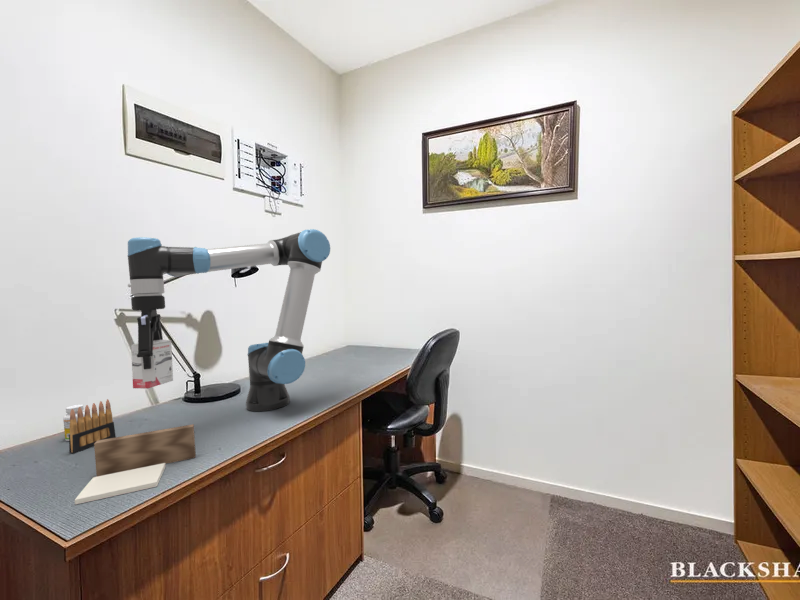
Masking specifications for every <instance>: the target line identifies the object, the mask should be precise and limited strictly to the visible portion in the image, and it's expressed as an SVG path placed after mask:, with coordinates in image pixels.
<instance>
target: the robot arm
mask: <svg viewBox="0 0 800 600" xmlns="http://www.w3.org/2000/svg"><path fill="white" fill-rule="evenodd" d="M330 244H331V243H330V241H329V239H328V237H327V236H326V235H325V234H324V233H323V232H322V231H320V230H318V229H314V228H310V229H304V230H301V232H300V231H299V232H297V233H294V234H293V233H292V234H291V235H288V236H285V237H282V238H278V239H271V240H268V242H267V243H259V244H258V243H257V244H247V245H246V244H245V245H236V246H235V245H234V246H227V247H226V246H225V247H217V248H216V247H215V248H205V247H197V246H194V247H190V246H185V247H184V246H182V247H181V246H165V245H162V243H161V240H160V239H159V238H156V237H153V238H152V237H143V236H140V237H132V238H130V239H129V240H128V241H127V260H128V261H127V262H128V263H127V264H128V272H129V274H128V275H129V283H128V284H127V287H128V288H130V295H132V297H131V298H130V301H131V302H130V303H131V310H132V311H135V312H136V311H140V313H141V314H140V316H137V318H136V320H137V339H138V340H137V343H138V354H137V357H141V364H142V378H143V382H148V381H155V380H156V376H155V362H154V356H152V355H153V341H154V340H164V339H163V337H164V336H163V330H162V322H161V321H162V320H161V318H162V317H161V314H159V313H158V311H157V310H164V309H165V308H166V300H165V299H166V297H165V296H164V295H163V294H165V284H164V283H165V280H164V274H166V275H169V276H171V277H173V278H177V277H183V276H187V275H188V276H189V275H195V274H207V273H210V272H217V271H218V272H219V271H224V270H225V271H226V270H234V269H240V268H241V269H242V268H248V267H255V266H263V265H272V266H273V267H277V266H288V267H289V275H288V277H287V278H288V279H287V284H286V287H285V291H284V297H283V300H282V303H281V304H282V305H281V309H280V313H279V316H278V322H277V327H276V331H275V334H274V336H272V337H270V339H269V340H268V342H263V343H255V344H250V345H249V346H248V347H247V355H246V356H247V358H248V359H247V360H248V376H249V389H248V394H247V395H246V396H247V397H246V401H245V408H246V410H247V411H251V412H267V411H272V410H276V409H279V408H284V407H285V406H288V405H289V404H290V403H291V401H290V394H289V392H288V389H287V387H286V385H289V384H293V383H294V382H296V381H297V380H299V379H300V378H301V376H302V375H303V373H304V372H305V368H306V359H305V356H304V355H303V350H304V344H303V342H302V341H301V339H302V335H303V330H304V326H305V321H306V316H307V312H308V309H309V308H308V307H309V303H310V298H311V293H312V289H313V285H314V281H315V277H316V274H318V273H319V272H321V270H322V269H321V268H322V264H323V262H324V261H325V260H327V259H328V257H329V256H330V254H331V245H330Z"/></svg>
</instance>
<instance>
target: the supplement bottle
mask: <svg viewBox="0 0 800 600" xmlns="http://www.w3.org/2000/svg"><path fill="white" fill-rule="evenodd" d="M79 407H81V409H82V412H83V418H84V420H85V407H84V404H74V405H70V406H66V407H65V413H66V414H64V415H63V430H64V432H63V433H64V439H65V440H64V441H65V442H69V434H70V427H69V425H70V412H71V409H73V410H74V412H75V416H76V422H77V418H78V417H77V413H78V408H79Z"/></svg>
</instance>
